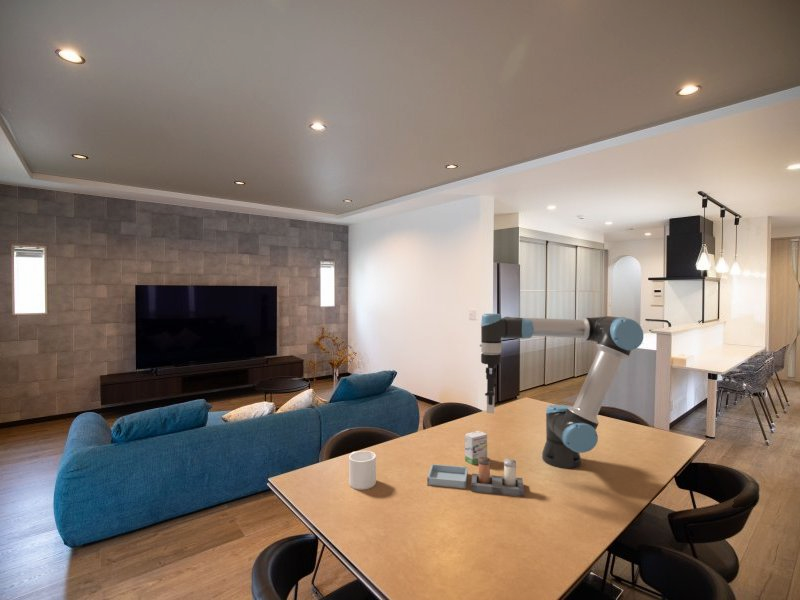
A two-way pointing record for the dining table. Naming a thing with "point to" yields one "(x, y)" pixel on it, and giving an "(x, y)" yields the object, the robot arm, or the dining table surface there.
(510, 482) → the cylinder
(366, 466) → the mug
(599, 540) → the dining table surface
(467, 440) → the ink box
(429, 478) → the parts tray
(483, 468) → the fuse
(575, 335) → the robot arm
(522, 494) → the block
